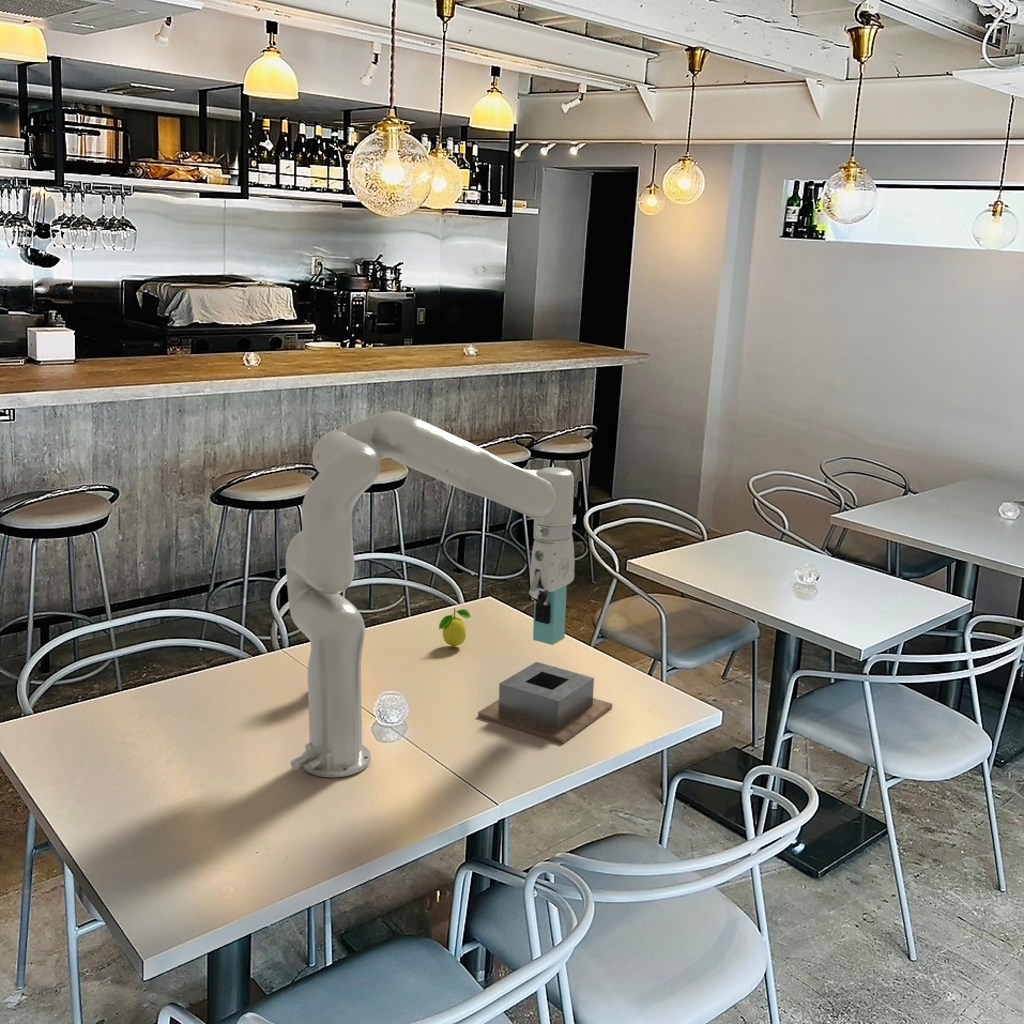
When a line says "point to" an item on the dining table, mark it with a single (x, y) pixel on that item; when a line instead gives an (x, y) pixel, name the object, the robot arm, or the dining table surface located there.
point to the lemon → (454, 628)
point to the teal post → (552, 619)
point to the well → (546, 702)
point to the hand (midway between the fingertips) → (549, 617)
